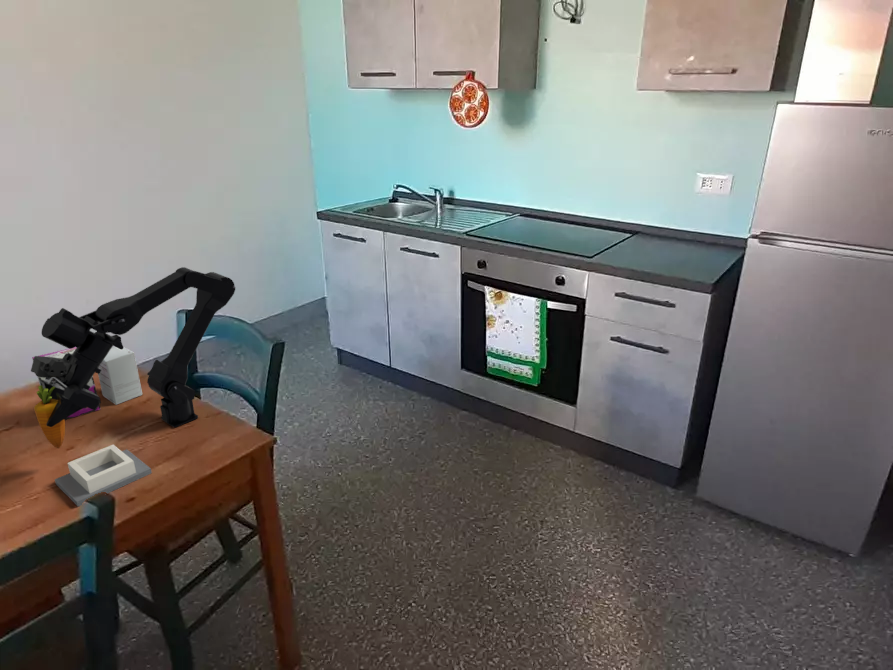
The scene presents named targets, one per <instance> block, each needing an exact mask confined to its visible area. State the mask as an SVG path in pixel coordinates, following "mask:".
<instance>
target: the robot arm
mask: <svg viewBox="0 0 893 670" xmlns="http://www.w3.org/2000/svg"><path fill="white" fill-rule="evenodd" d="M190 288H193V289H196V298H195V300H196V302H195V305H194V307H193V308H192V311H191V312H190V314H189V317H188V318H187V321H186V322H185V324H184V326H183V328H182V330H181V331H180V333H179V335H178V338H177V339H176V341H175V343H174V345H173V346H172V349H171V351H170V352H169V354H168V356H167V357H165V358H164V359H163V360H161V361H160V360H158V359H156V360H155V361H153V364H152V367H151V369H150V371H148V372H147V374H146V375H147V376H148V378H147V385H148V387H149V389H150V390H151V391H153V392H155V393H157V394H158V395H159V396H161V397H162V398H161V399H160V400H161V401H160V402H161V405H160V407H159V408H160V412H161V417H160V418H161V420H162V421H163V422H165V423H166V424H167V425H169V426H171V427H172V428H174V429H175V428H177V427H180V426H183V425H184V424H187V423H189V422H193V421H194V420H196V419H197V420H198V419H199V415H198V414H196V413H195V409H194V401H193V400H194V399H195V397H196V396H195V395H196V390H194V389H193V388H191V387H189V386H188V385H186V383H187V381H188V368H189V364H190V362H191V360H192V358H193V355H194V354H195V352H196V350H197V349H198V346H199V345H200V343H201V341H202V339H203V337H204V335H205V333H206V332H207V330H208V328H209V325H211V321H212V320H213V318H214V316H215V315H216V314H217V312H218V311H220V310H221V309H222V308H224V307H225V306H226V305H227V304H228V303H229V301H230V300H231V299H232V297H233V296H234V295H235V292H236V286H235V282H234V280H232V279H231V278H230V277H227V276H224V275H222V274H220V273H217V272H214V271H211V272H207V273H203V272H199V271H195V270H194V269H193V270H192V269H190V268H187V267H185V266H184V267H183V266H182V267H179V268H177V269H176V270H175V271H174V272H173V273H171V274H168V275H167V276H165V277H164V278H162V279H160V280H158V281H157V282H154V283H153V284H151V285H150V286H148V287H145V288H144V289H141V290H140V291H139V292H137V293H135V294H133V295H130V296H127V297H122V298H116V299H114V300H110V301H108V302H105V303H102V304H101V305H100V306H98V307H97V309H95V310H94V311H91V312H89V313H85V314H83V315H81V316H77V315H75V314H74V313H73V312H71V311H69V310H68V309H65V308H64V307H62V308H60V310H59V311H58V312H56V313H54V314H53V315H51V316H50V317H48V318H47V319H46V320H45V322H44V324H43V326H42V328H41V336H42V337H43V338H45V339H47V340H50V341H52V342H54V343H55V344H56V343H57V344H58V345H61V346H63V347H64V348H66V349H71V348H74V347H77V348H76V349H75V351H74V352H73V354H70V353H68V354H65V356H64V357H63V358H62V359H61V358H55V357H43V356H40V355H35V356H33V357H34V360H33V359H32V364H31V367H30V372H31V373H34V374H35V376H36V377H37V376H38V377H43V378H45V380H41V379H40V382H41V383H42V386H43V389H44V388H47V389H48V392H49V390H50V389H51V388H52V387H56V388H55V389H54V390H53V391H52V393H51V395H50V396H51V397H52V398H51V399H57V400H58V402H57V404H56V406H55V408H54V410H53V412H52V414H51V416H50V418H49V420H48V422H47V424H46V425H47V426H49V427H53V426H54V425H56V424H57V423H59V422H61V421H62V420H64V419H65V418H67V417H69V416H70V415H72V414H74V413H75V412H77V411H79V410H81V409H83V408H90V409H93V410H96V409H97V408H98V406H99V405H100V404H101V403H102V400H101V397H100V396H99V395H98V394H97V395H96V394H95V393H93V392H92V391H89V388H90V386H89V385H87V384H88V382H89V381H90V379H91V378H92V376H93V377H94V375H95V373H96V374H97V375H98V374H99V373H100V372H101V369H99V368H98V367H99V366H100V364H101V363H102V361H103V360H104V358H105V357H106V355H107V354H108V352H109V351H110V349H111V348H113V347H117V348H119V349H123V347H124V345H123V342H122V337H121V335H125V334H126V333H128V332H130V331H131V330H132V329H133V328H134V327H136V326H137V325H138V324H139V323H140V322H141V320H142V319H143V317H144V316H145V315H146V314H148V313H149V312H150V311H152V310H153V309H155V308H157V307H159V306H161V305H162V304H165V302H168V301H169V300H171V299H172V298H174V297H176V296H177V295H179V294H181V293H183V292H185V291H186V290H188V289H190ZM91 329H92V330H93V331H91ZM94 331H95V332H94ZM108 333H111V334H113V335H110V334H108ZM38 377H37V378H38ZM100 406H101V405H100Z"/></svg>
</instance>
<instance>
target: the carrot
mask: <svg viewBox="0 0 893 670" xmlns="http://www.w3.org/2000/svg"><path fill="white" fill-rule="evenodd" d="M55 388H56V387H52V388H51V389H50V390H49V392H48V389H47V388H44V389H43V386H42V385H40V384H39V385H38V387H37V389H38V390H37V391H36V395H37V396H38V398H39V399H40V400H41V401H39V402H38V403H37V404H35V406H34V408H33V409H34V414H35V416H36V419H37V422H38V425H39V427H40V429H41V431H42V434H44V436H45V438H46V440H47V441H48V442H49V443H50V444H51V446H53V447H54V448H56V449H60V448H61V447H62V445H63V443H64V440H65V435H66V421H65V420H62V421H61V422H59V423H57V424H56V425H54V426H53V427H49V426H47V425H46V424H47V422H48V420H49V418H50V416H51V414H52V412H53V410H54V408H55V406H56V404H57V402H58V400H57V399H51V398H52V397H51V396H50V395H51V393H52V391H53V390H54V389H55Z"/></svg>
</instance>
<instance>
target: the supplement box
mask: <svg viewBox="0 0 893 670" xmlns="http://www.w3.org/2000/svg"><path fill="white" fill-rule="evenodd" d="M98 368H99V369H101V372H100V373H99V374H98V373H97V376H98V379H99V380H98V381H99V383H100V384H99V386H100V389H101V394H102V397H104V398H106V399H107V400H108V401H109V402H111V403H112V404H114V405H119V404H122V403H124V402H127V401H130V400H133V399H135V398H138V397H141V396H142V395H143V391H142V385H141V381H140V375H139V374H140V373H139V370H138V365H137V360H136V355H135V352H134V351H132V350H131V349H129V348H126V347H125V346H123V349H119V348H117V347H115V346H113V347H112V348H111V349H110V351H109V352H108V354H107V355H106V357H105V358H104V360H103V361H102V363H101V364H100V366H99V367H98Z"/></svg>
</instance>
